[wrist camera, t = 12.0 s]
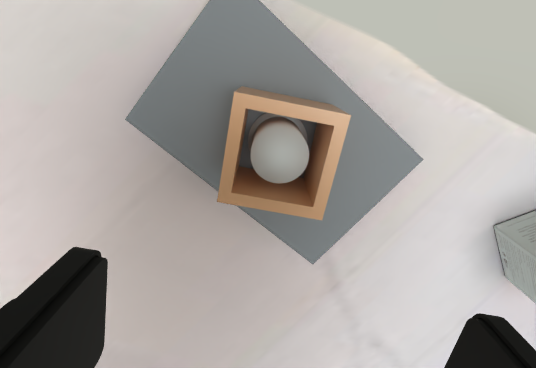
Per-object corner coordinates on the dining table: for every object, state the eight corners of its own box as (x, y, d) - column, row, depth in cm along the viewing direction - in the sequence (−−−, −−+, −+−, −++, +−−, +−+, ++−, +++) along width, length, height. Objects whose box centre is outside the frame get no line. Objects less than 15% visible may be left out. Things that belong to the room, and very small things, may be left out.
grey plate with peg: (415, 154, 28) (457, 179, 22) (310, 255, 31) (321, 301, 25) (232, -23, 23) (219, -55, 17) (132, 116, 27) (92, 131, 21)
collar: (332, 104, 25) (351, 115, 19) (310, 188, 27) (322, 220, 22) (241, 86, 25) (234, 91, 19) (227, 173, 27) (217, 201, 21)
